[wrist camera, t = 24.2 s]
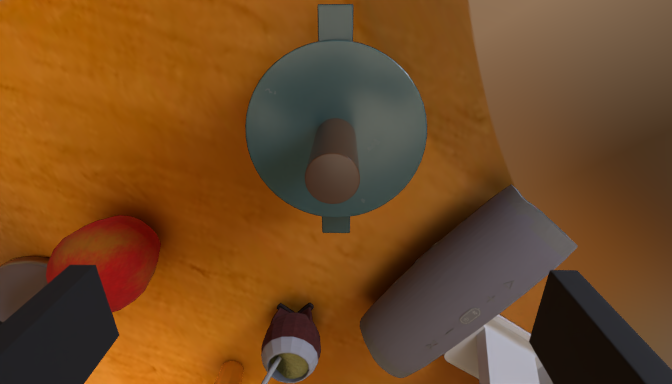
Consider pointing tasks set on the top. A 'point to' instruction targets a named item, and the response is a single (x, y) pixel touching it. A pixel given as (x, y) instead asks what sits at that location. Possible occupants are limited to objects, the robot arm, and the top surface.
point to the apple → (111, 256)
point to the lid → (336, 128)
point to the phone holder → (499, 355)
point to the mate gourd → (291, 345)
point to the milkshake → (230, 373)
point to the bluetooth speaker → (463, 282)
